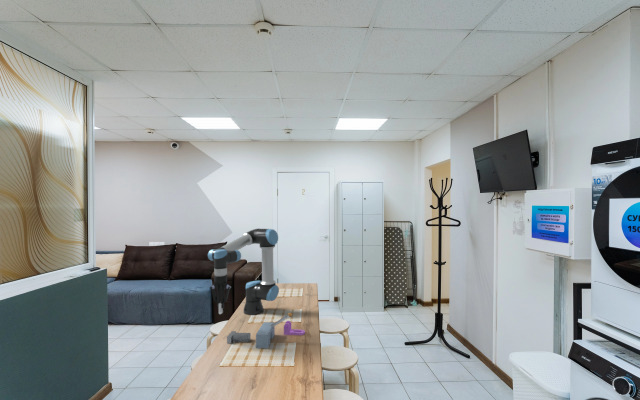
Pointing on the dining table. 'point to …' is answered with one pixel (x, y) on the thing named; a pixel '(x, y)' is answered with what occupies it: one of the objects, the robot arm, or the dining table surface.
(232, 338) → the gray block
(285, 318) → the latch bar
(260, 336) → the hitch block
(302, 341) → the dining table surface
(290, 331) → the bracket
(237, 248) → the robot arm
